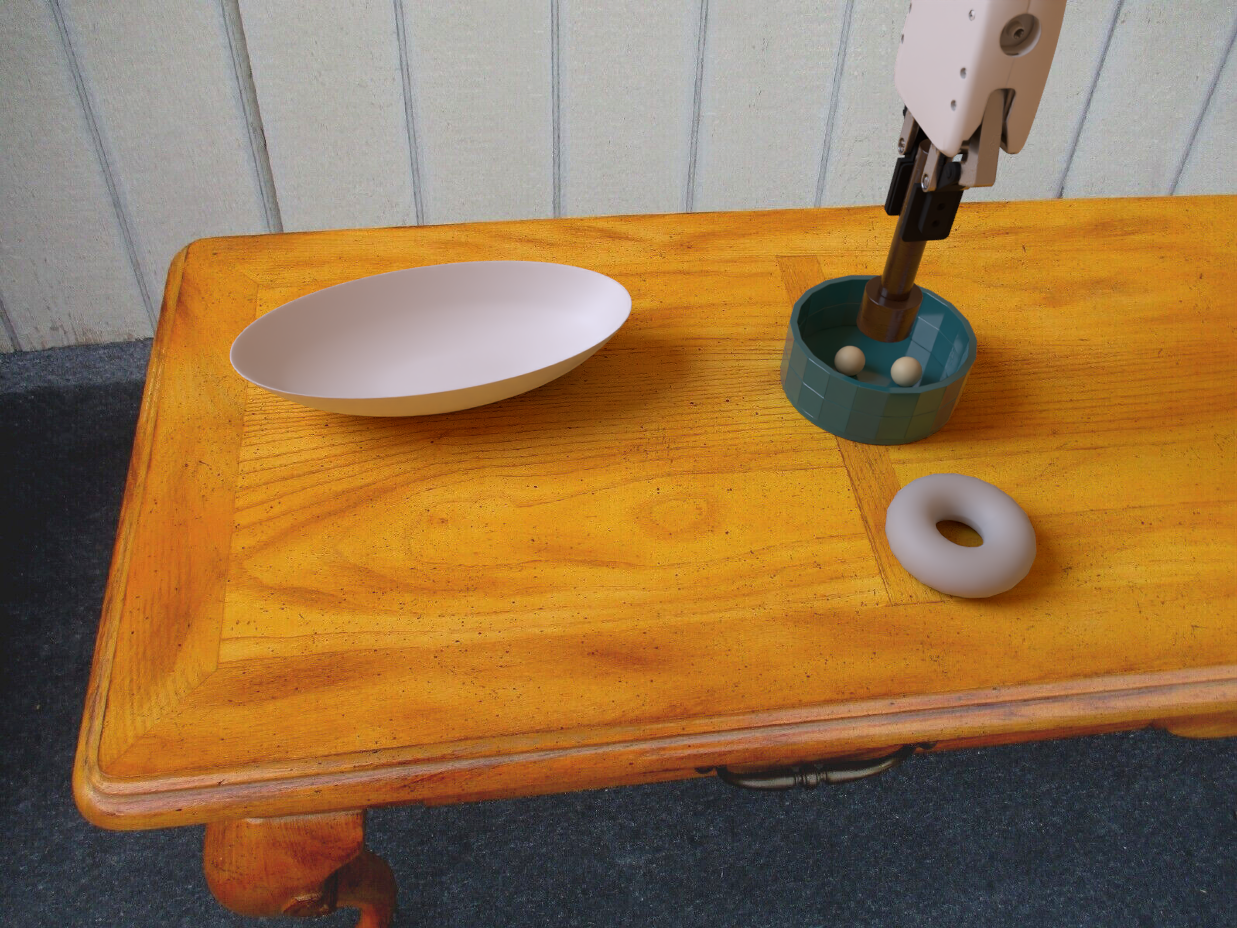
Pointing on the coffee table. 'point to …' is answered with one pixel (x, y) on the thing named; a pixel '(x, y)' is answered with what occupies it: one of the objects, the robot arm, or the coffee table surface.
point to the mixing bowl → (874, 366)
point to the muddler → (896, 277)
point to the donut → (947, 562)
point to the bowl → (432, 337)
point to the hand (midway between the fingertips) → (915, 223)
